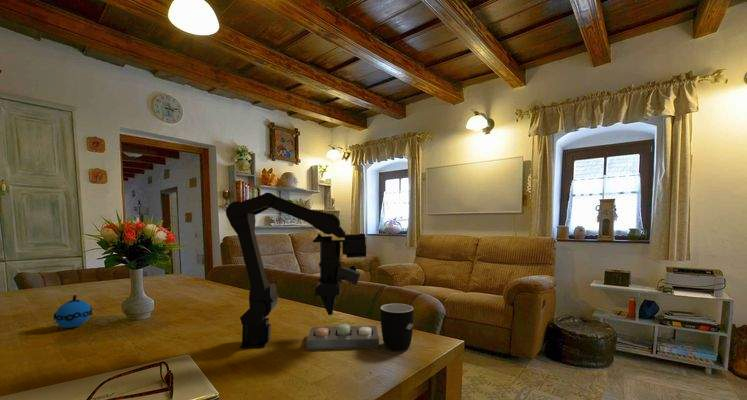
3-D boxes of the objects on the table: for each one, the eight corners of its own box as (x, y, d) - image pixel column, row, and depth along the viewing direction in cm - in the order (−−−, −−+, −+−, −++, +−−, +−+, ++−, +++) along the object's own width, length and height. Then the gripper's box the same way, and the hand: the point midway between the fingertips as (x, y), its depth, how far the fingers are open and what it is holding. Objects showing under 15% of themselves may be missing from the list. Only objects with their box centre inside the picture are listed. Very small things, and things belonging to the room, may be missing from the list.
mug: (409, 355, 77) (409, 313, 78) (375, 350, 80) (375, 310, 81) (419, 338, 88) (418, 302, 89) (388, 335, 91) (388, 299, 92)
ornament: (88, 328, 97) (90, 296, 97) (49, 334, 92) (51, 299, 92) (92, 321, 104) (95, 291, 104) (57, 326, 99) (59, 294, 100)
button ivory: (358, 341, 85) (358, 331, 85) (358, 337, 88) (358, 326, 88) (371, 341, 85) (371, 331, 85) (371, 336, 88) (371, 326, 89)
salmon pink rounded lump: (314, 342, 84) (314, 332, 84) (316, 338, 87) (316, 327, 88) (327, 342, 84) (327, 331, 84) (328, 337, 88) (329, 327, 88)
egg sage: (336, 338, 84) (336, 328, 84) (337, 334, 88) (337, 324, 88) (349, 338, 85) (350, 327, 85) (350, 333, 88) (350, 323, 88)
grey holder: (379, 348, 82) (379, 338, 82) (306, 349, 80) (306, 340, 80) (376, 334, 92) (376, 325, 92) (311, 335, 91) (311, 327, 91)
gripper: (359, 261, 79) (359, 324, 78) (358, 254, 97) (358, 305, 96) (315, 262, 78) (315, 326, 77) (322, 255, 97) (322, 306, 96)
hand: (330, 314), depth 86 cm, fingers closed
